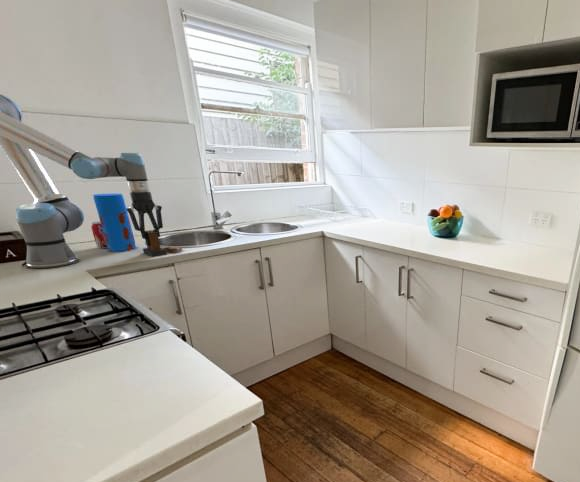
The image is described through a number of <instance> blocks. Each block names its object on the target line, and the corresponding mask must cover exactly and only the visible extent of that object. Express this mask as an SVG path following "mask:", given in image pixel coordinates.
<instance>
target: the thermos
mask: <svg viewBox="0 0 580 482" xmlns="http://www.w3.org/2000/svg"><path fill="white" fill-rule="evenodd" d="M92 197H93V201H94V204H95V208H96V210H97V212H96V213H97V215H98V218H99V221H100V222H101V226H102V229H103V233H104V236H105V239H106V243H107V246H108V248H107V249H108V251H109V252H117V253H118V252H127V251H133V250H136V249H137V245H136V240H135V237H134V233H133V229H132V224H131V221H130V220H131V219H130V216H129V213H128V211H127V210H126V208H127V206H126V202H125V198H124V195H123V193H115V192H114V193H96V194H92Z"/></svg>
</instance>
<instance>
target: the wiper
mask: <svg viewBox="0 0 580 482" xmlns="http://www.w3.org/2000/svg"><path fill="white" fill-rule="evenodd" d="M146 231H147V233H148V237H149V241H150V245H151V246H147V245H146V246H147V247H144V248H142V251H143V253H144V254H145V255H148V256H150V257H157V256H164V255H168V252H166V250H165V249H162V248H160V247H161V244H159V243H160V240H159V237H158V235H157V232H154V231H153V230H151V229H149V230H146Z"/></svg>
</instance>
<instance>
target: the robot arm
mask: <svg viewBox="0 0 580 482" xmlns="http://www.w3.org/2000/svg"><path fill="white" fill-rule="evenodd" d="M22 118H23V112H22V110H21V108H20V106H18V104H17V103H16V102H15V101H13V99H11V98H10V97H8V96H6V95H4V94H1V93H0V149H1V150H2V151H3V154H5V156H6V158H7V159H8V161H9V162H10V164H11V165H12V167H13V169H14V170H15V172H16V173H17V175H18V176H19V177H20V179H21V181H22V182H23V184H24V185H25V187H26V188H27V190H28V192H29V193H30V195H31V196H32V198H33V202H32V203H29V204H28V203H27V204H22V205H20V206H17V207H16V208H15V209H14V215H15V219H16V221H17V223H18V226H19V229H20V232H21V234H22V238H23V240H24V242H25V245H26V260H25V261H24V262H23V263H22V264H21V266H22V267H25V266H27V267H28V268H29V269H52V268H60V267H64V266H65V267H66V266H69V265H72V264H75V263H77V262H79V261H78V257H77V255H76V254H75V253H74V251H73V250H72V249H75V248H74V247H73V248H72V249H71V248H70V246H69V245H68V244H67V243H66V239H65V236H64V234H65V233H69V232H73V231H75V230H77V229H79V228H81V226H82V225H83V223H84V221H85V215H84V212H83V210H82V209H81V208H80V207H79V206H78V205H76V204H74V203H73V202H71V201H70V200H69V198H68V196H67V195H64V194H63V193H60V191H59V190H58V188H57V186H56V185H55V183H54V181H53V180H52V178H51V176H50V174H49V173H48V172H47V170H46V169H45V167H44V165H43V164H42V162H41V160H40V159H39V156H37V154H38V155H40V156H43V157H44V158H46V159H48V160H51V161H53V162H55V163H57V164H59V165H61V166H63V167H65V168H67V169H69V170H71V171H72V172H73V173H74V174H75V176H77V177H78V178H80V179H84V180H95V179H100V178H101V179H102V178H115V177H116V178H120V177H122V178H125V180H126V184H127V188H128V191H130V192H129V195H130V199H131V206H129V207H126V210H127V213H128V216H129V218H130V220H131V223H132V225H133V228H134V231H138V232H140V235H141V237H142V239H143V240H144V241H145V244H146V246H151V245H150V241H149V237H148V233H147V231H148V230H146V225H145V214H147V216H148V218H149V220H150V223H151V225H152V227H153V229H152V231H154V232H157V235H158V238H160V237H161V233H160V229H163V228H164V226H163V217H162V209H163V206H162V205H158V204H155V202H154V200H153V195H152V192H151V191H150V190H151V188H150V184H149V180H148V176H147V171H146V166H145V163H144V159H143V156H142V154H141V153H139V152H120V154H119V157H103V156H102V157H101V156H96V157H91V156H89V155H87V154H85V153H83V152H81V151H79V150H77V149H75V148H73V147H71V146H70V145H68V144H65V143H63V142H61V141H59V140H57V139H56V138H53V137H51V136H50V135H47V134H45V133H43V132H41V131H39V130H38V129H35V128H33V127H32V126H30V125H28V124H26V123H23V119H22ZM153 210H155V215H156V216H154V212H153ZM135 211H136V212H137V215H138V220H137V217H136V215H135V213H134V212H135ZM155 217H156V218H155ZM159 244H160V242H159ZM160 245H161V244H160Z"/></svg>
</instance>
